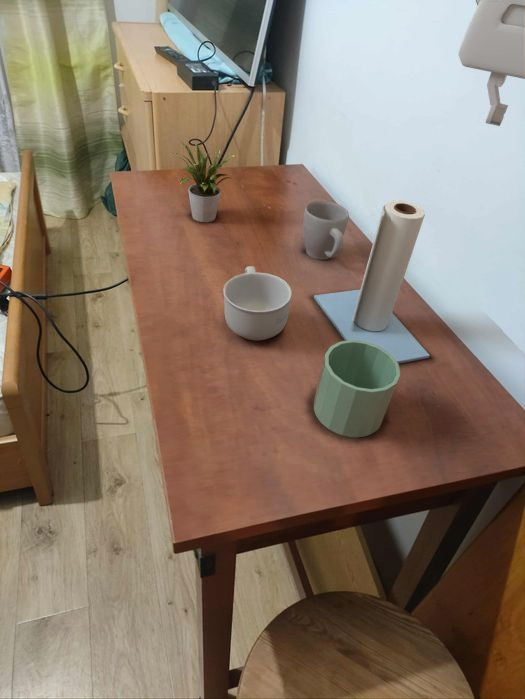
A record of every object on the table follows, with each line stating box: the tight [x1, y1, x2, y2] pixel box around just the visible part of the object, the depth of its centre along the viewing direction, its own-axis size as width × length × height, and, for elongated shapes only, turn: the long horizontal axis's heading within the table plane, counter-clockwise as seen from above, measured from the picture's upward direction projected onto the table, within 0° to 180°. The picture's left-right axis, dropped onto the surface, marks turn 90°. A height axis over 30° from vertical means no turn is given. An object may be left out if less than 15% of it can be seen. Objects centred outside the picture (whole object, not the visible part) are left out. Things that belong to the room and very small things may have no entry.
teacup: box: [222, 265, 293, 341], centre depth 84 cm, size 14×11×8 cm
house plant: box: [171, 139, 239, 223], centre depth 109 cm, size 14×14×16 cm
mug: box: [302, 200, 350, 261], centre depth 103 cm, size 12×9×10 cm
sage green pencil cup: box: [313, 340, 401, 438], centre depth 70 cm, size 10×10×9 cm
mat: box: [313, 289, 431, 365], centre depth 89 cm, size 20×12×1 cm, turn 20°
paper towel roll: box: [350, 200, 426, 331], centre depth 82 cm, size 7×6×21 cm
